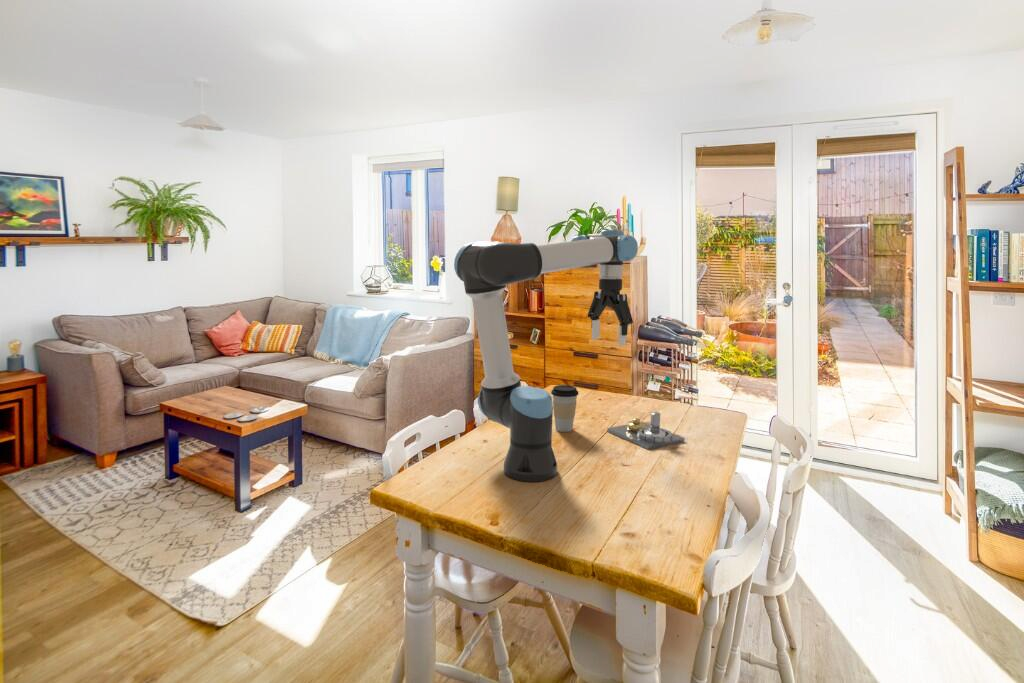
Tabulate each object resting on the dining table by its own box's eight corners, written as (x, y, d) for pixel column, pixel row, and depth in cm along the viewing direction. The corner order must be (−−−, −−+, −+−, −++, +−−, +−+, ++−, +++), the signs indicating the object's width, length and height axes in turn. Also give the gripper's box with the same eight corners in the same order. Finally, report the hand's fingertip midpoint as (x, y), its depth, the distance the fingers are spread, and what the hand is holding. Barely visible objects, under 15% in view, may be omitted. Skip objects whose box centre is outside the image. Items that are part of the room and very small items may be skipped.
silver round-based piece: (654, 441, 183) (655, 418, 181) (639, 435, 188) (640, 412, 187) (670, 438, 186) (671, 414, 185) (654, 431, 192) (655, 409, 191)
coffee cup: (577, 425, 202) (578, 384, 199) (577, 434, 192) (578, 391, 190) (550, 424, 203) (551, 384, 200) (549, 433, 193) (550, 390, 191)
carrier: (648, 449, 179) (649, 435, 178) (607, 431, 196) (607, 418, 195) (684, 441, 187) (685, 427, 186) (642, 424, 204) (642, 411, 203)
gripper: (646, 279, 176) (642, 346, 180) (595, 275, 198) (593, 335, 201) (627, 280, 173) (624, 348, 176) (578, 276, 194) (576, 337, 197)
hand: (608, 342), depth 189 cm, fingers open, 13 cm apart
